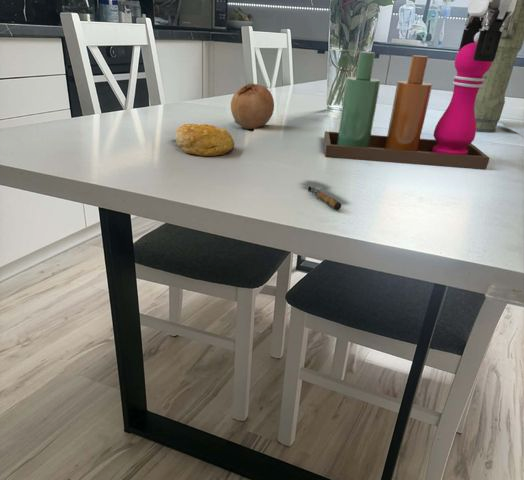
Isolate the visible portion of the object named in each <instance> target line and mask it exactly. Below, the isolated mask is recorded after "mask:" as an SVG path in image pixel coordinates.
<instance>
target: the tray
mask: <svg viewBox="0 0 524 480" xmlns="http://www.w3.org/2000/svg"><path fill="white" fill-rule="evenodd" d="M338 134H339V131H328V130H327V131H325V130H324V135H323V151H324V157H325V158H330V159H340V160H341V159H342V160H344V159H345V160H355V161H356V160H358V161H368V162H369V161H370V162H382V163H391V164H392V163H394V164H407V165H419V166H431V167H433V166H434V167H444V168H446V167H447V168H456V169H468V170H469V169H471V170H482V171H486V170H487V168H488V166H489V162H490V158H491V157H490V156H489V155H487V154H485V153H484V152H483V151H482V150H481V149H479V148H478V147H477V146H475V144H473V142H471V143H470V144H469V145H468V146H467V147H466V148H465V149H466V150H467V151H468V153H467V155H459V154H446V153H433V152H432V150H433V147H434V146H436V145H437V142H436V140H435V139H429V138H420V142H419V146H418V150H417V151H408V150H395V149H385V144H386V139H387V135H379V134H371V139H370V145H369V147H356V146H343V145H337V142H338Z"/></svg>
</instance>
